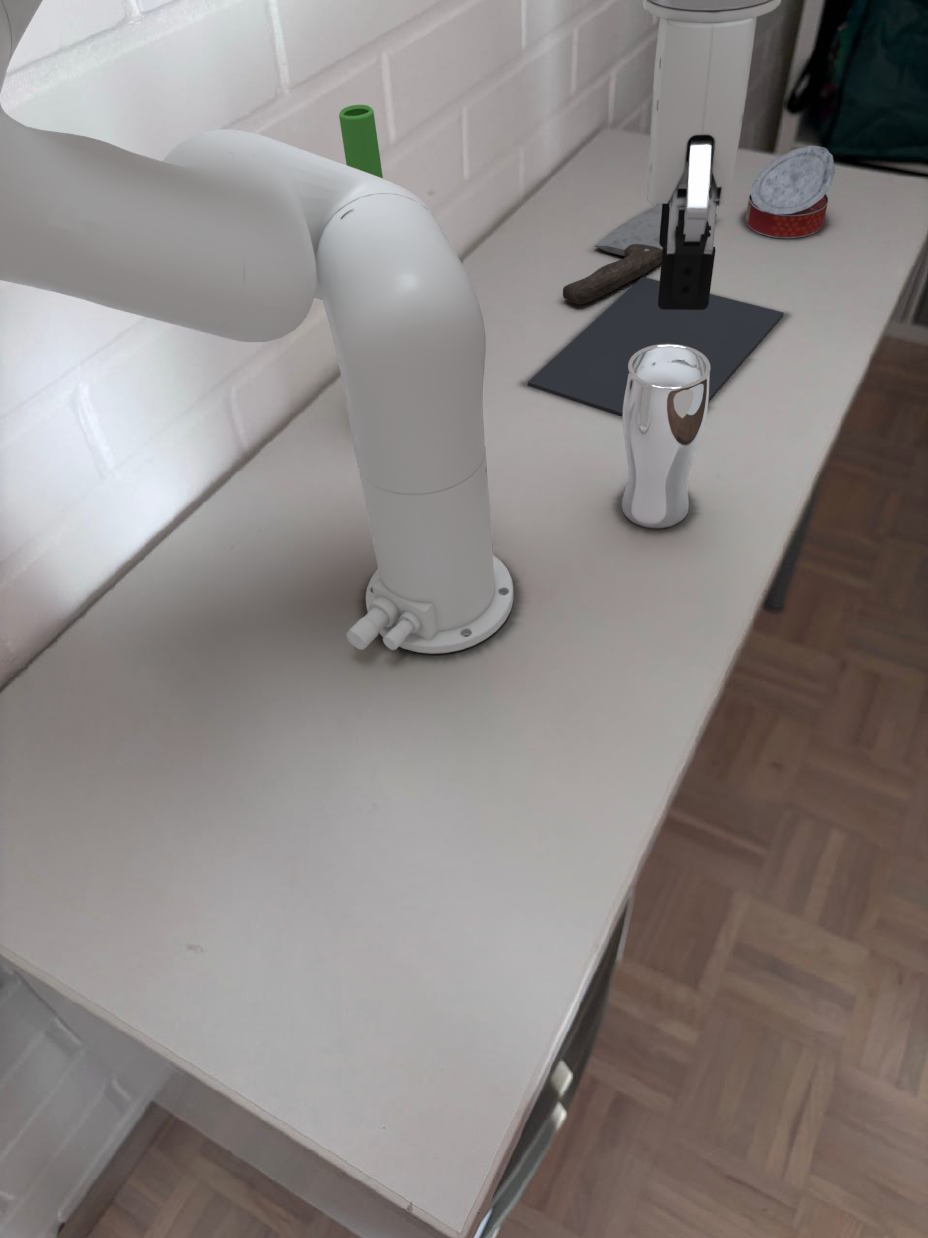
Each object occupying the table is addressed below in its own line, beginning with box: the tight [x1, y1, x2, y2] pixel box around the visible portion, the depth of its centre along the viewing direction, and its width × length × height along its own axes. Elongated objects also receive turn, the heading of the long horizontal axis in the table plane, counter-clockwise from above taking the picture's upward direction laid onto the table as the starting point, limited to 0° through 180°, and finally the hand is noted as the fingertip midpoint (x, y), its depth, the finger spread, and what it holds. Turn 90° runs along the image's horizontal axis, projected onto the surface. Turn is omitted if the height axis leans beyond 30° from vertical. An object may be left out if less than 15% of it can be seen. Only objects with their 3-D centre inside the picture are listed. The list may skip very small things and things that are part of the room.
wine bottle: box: [338, 104, 384, 179], centre depth 89 cm, size 8×8×30 cm
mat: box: [527, 276, 784, 417], centre depth 105 cm, size 26×18×1 cm
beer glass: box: [621, 344, 710, 529], centre depth 82 cm, size 7×7×15 cm
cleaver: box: [562, 203, 718, 305], centre depth 120 cm, size 29×10×2 cm, turn 140°
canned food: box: [744, 145, 836, 240], centre depth 121 cm, size 11×10×10 cm
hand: (682, 273), depth 64 cm, fingers open, 7 cm apart
